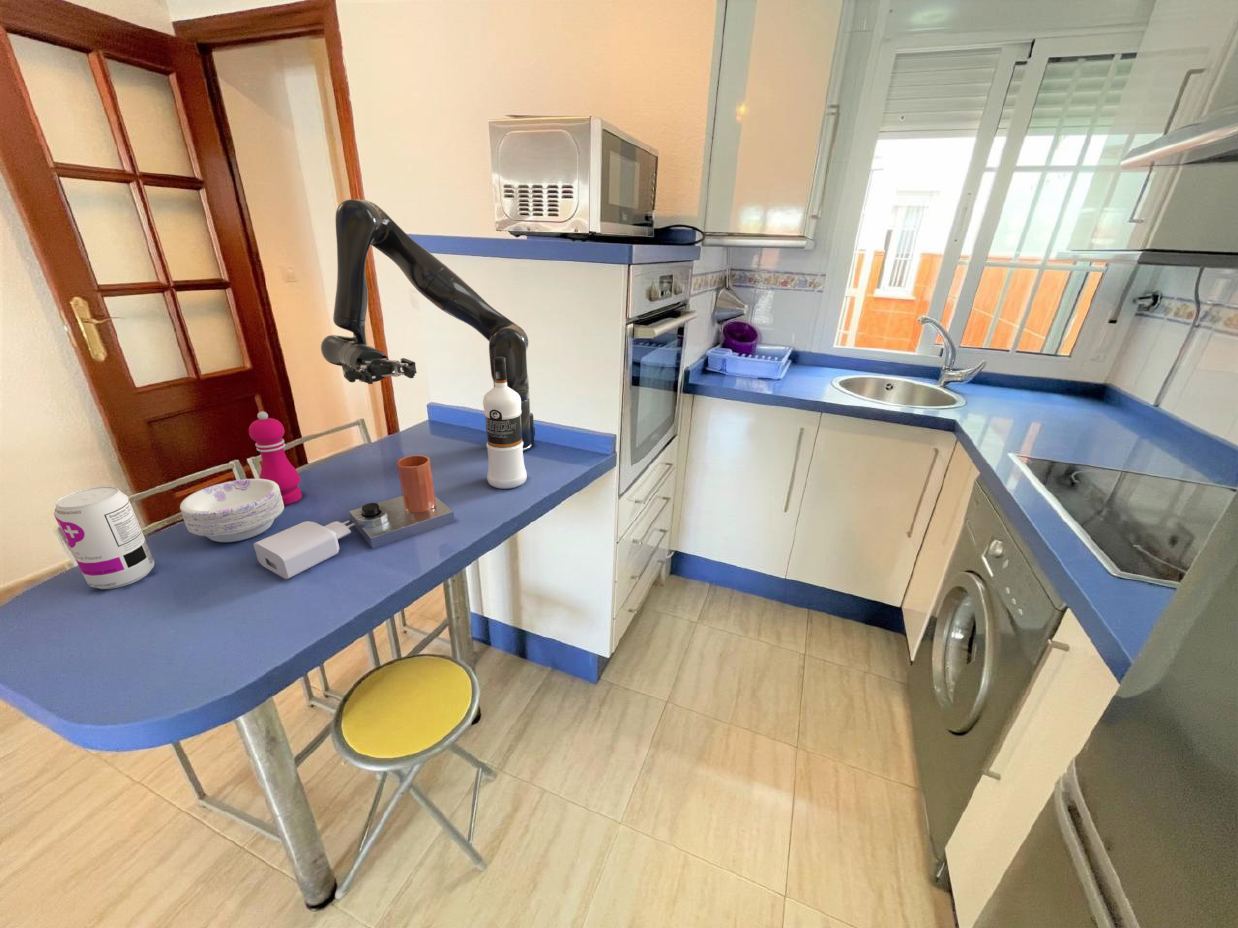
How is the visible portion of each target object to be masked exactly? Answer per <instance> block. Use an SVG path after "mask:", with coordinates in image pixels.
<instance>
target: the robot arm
mask: <svg viewBox="0 0 1238 928" xmlns="http://www.w3.org/2000/svg"><path fill="white" fill-rule="evenodd" d="M335 237H336V260H337V264H336V265H337V266H336V267H337V268H336V269H337V271H336V272H337V273H336V274H337V275H336V290H335V299H334V308H333V316H332V320H333V323H334V325H335V326H336V327H338V328H340V329H342V330H346V331H348V332H351V333H352V336H345V335H338V334H337V335H336V334H329V335H327V336H325V337H324V339H322V341H321V344H320V352H321V354H322V357H323V358H324V359H325V361H327V363H329V364H331V365H335V366H339V367H341V369H342V374H343V377H344V379H346V380H347V381H348V382H349V383H355V382H356V380H358V381H359V382H361V383H364V384H365V383H366V384H368V385H373V384H374V383H376V382H380V381H382V380H383V379H385V378H387V377H395V378H396V377H397V378H398V377H400V376H405V377H407V378H408V379H414V378H415V376H416V374H417V373H418V372H417V367H416V365H417V364H416V362H415V361H413V360H410V359H409V358H404V357H402V358H400V361H399V360H395V359H389V358H388V356H387V355H386V354H385V353H384V352H383V351H381V350H379V349H377V348H374V347H373V346H370V345H368V341H367V333H366V321H367V319H366V318H367V312H368V304H369V291H368V284H367V283H368V282H367V277H366V266H367V258H368V254H369V249H370V247H373V248H375V249H377V250H378V251H379V252H381V253H382V254H383V255H384V256H386V257H388V258H389V259H390V260H391V261H392V262H393V263H394V264H395V265H396V266H397V267H398V268H399V269H400V270H401V272H402V273H403V275H404V276H405V277H406V278H407V280H408V281H409V283H410V284H412V286H413V287H414V288H415V289H416V290H417V292H418V293H420V294H421V296H423V297H424V298H426V299H427V300H428V301H429V302H430V303H432V304H433V305H434V306H435V307H436V308H438V309H439V310H441V311H443V312H444V313H446V314H448V315H449V316H451V317H452V318H455V319H457V320H458V321H461V322H463V323H465V324H467V325H468V326H470V327H472V328H473V329H474V330H476V331H477V332H478V333H479V334H480V335H481V336H483V338H485V339H486V340H487V342H488V353H489V354H488V355H489V356H488V357H489V366H490V375H491V379H492V383H493V388H494V387H495V374H494V360H493V358H494V357H505V363H506V377H507V386H508V387H509V388H511V389H512V390H514V391H515V392H517V393H518V394H519V396H520V398H521V411H522V412H521V428H522V441H523V452H527V451H529V450H530V449H532V448H533V447H535V446H536V445H535V436H536V427H535V424H534V414H533V413H532V412H531V401H530V378H529V375H528V365H527V363H528V362H527V350H528V348H529V338H528V335H527V332H525V330H524V329H523V328H522V327H521V326H519V325H518V324H516V323H515V322H513V321H512V320H510V318H508V317H506V316H505V315H503V313H501V312H499V311H497V310H496V309H495V308H494V307H492V306H491V305H490V304H489V303H488V302H487V301H486V300H485V299H484V298H483V297H481V295H479V293H478V292H476V291H475V290H474V289H473V288H472V287H471V286H469V284H468V283H467V282H466V281H465V280H464V279H462V278H461V277H460V276H459V275H458V274H457V273H456V272H454V271H453V270H452V269H451V268H449V267H448V266H447V265H446V264H445V263H443V262H442V261H441V260H439V258H438V257H436V256H435V255H434V254H432V253H431V252H429V251H428V250H427V249H426V248H424V247H423V246H422V245H420V244H419V243H418V242H416V241H415V240H414V239H413V238H412V237H410V236H409V235H408V234H407V233H406V232H405V231H404V230H403V229H402V228H401V227H400V226H399V225H398V224H397V223H396V221H394V220H393V219H392V218H391V216H389V214H388V213H387V212H385V211H384V209H382V208H381V207H380V206H379V205H377V204H376V203H375V202H372V201H369V200H366V199H358V198H357V199H356V198H351V199H346V200H343V201H342V202H341V203H339V205H338V206H337V208H336V211H335Z"/></svg>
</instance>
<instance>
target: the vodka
mask: <svg viewBox="0 0 1238 928" xmlns="http://www.w3.org/2000/svg"><path fill="white" fill-rule="evenodd" d="M493 360H494V374H495V387H494V386H493V388H491V389H490V390H489V391H487V392H486V393H485V394H484V396H483V397H482V398H483V399H482V406H483V415H484V421H485V433H486V450H487V459H488V460H487V461H488V463H487V473H486V480H487V482H488V484H489V485H490V486H492V487H493V488H496V489H500V490H510V489H515V488H518V487H520V486H522V485H524V483H526V481H527V479H528V476H527V470H526V465H525V459H524V451H523V441H522V428H521V412H522V411H521V398H520V396H519V394H518V393H517V392H515V391H514V390H512V389H511V388H509V387H508V386H507V377H506V363H505V357H494V358H493Z"/></svg>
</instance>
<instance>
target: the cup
mask: <svg viewBox="0 0 1238 928" xmlns="http://www.w3.org/2000/svg"><path fill="white" fill-rule="evenodd" d="M396 468H397V474H398V479H399V485H400V492H401V496H402V498H403V504H404V508H405V510H406V511H408V512H424V511H427V510H430V509H432V508H433V507H434V506H435V504H436V502H435V496H436V494H435V487H434V479H433V472H432V463H431V458H430V457H429V456H427V455H423V454H422V455H421V454H413V455H408V456H405V457H404V456H403V457H402V458H400V459H398V461H396Z"/></svg>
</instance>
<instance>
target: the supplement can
mask: <svg viewBox="0 0 1238 928" xmlns="http://www.w3.org/2000/svg"><path fill="white" fill-rule="evenodd" d="M53 516H54V518H55V520H56V523H57V524H58V526H59V528H60V530H61V532H62V535H63V537H64V539H65V540H66V542H67V544H68V547H69V549H70V551H71V553H72V555H73V557H74V559H75V561H76V563H77V565H78V568H79V570H80V572H81V573H82V576H83V577H84V579H85V582H86V584H87V585H88V586H89V587H91V588H95V589H100V590H112V589H118V588H122V587H126V586H128V585H131V584H133V583H136V582H138V581H140V580H142V579H143V578H145V577H146V576H148V574H150V572H151V571H152V569H153V568H154V567H155V560H154V557H153V555H152V552H151V550H150V547H149V545H148V543H147V541H146V538H145V536H144V533H143V530H142V528H141V526H140V523H139V521H138V518H137V516H136V514H135V512H134V508H133V506H132V504H131V502H130V499H129V496H128V495H126V494H125V493H124V492H122V491H120V489H119V488H118V487H116V486H110V485H107V486H102V485H101V486H95V487H90V488H85V489H81V490H80V489H79V490H77V491H74V492H70V493H68V494H66V495H64V496H62V497H60V498H59V499H57V500H56V502H55V508H54V511H53Z"/></svg>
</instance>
